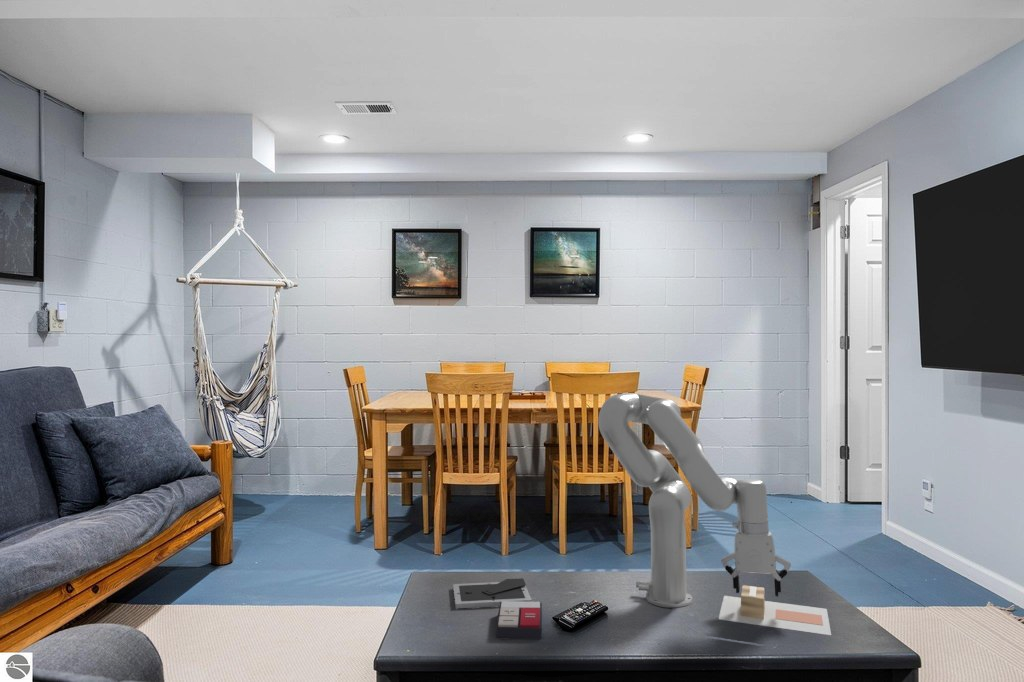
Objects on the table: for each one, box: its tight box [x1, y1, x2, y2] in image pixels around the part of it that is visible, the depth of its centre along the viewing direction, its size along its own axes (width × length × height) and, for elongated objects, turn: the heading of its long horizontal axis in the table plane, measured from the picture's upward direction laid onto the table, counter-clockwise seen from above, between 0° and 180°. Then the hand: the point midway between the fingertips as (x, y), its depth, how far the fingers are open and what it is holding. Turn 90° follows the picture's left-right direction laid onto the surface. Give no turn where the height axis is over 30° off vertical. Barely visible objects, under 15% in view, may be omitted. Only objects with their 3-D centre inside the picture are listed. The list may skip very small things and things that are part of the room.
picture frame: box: [452, 577, 533, 610], centre depth 185 cm, size 16×3×21 cm
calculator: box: [495, 601, 543, 640], centre depth 164 cm, size 11×4×15 cm
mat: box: [718, 595, 832, 636], centre depth 170 cm, size 26×18×1 cm
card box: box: [740, 584, 766, 619], centre depth 172 cm, size 9×6×5 cm, turn 158°
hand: (757, 593), depth 172 cm, fingers open, 9 cm apart
